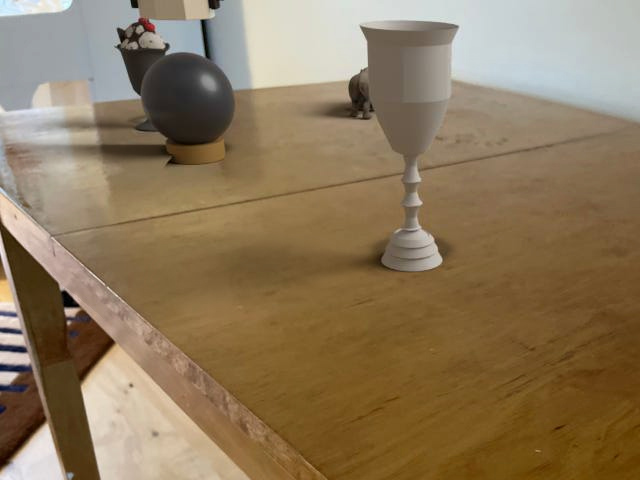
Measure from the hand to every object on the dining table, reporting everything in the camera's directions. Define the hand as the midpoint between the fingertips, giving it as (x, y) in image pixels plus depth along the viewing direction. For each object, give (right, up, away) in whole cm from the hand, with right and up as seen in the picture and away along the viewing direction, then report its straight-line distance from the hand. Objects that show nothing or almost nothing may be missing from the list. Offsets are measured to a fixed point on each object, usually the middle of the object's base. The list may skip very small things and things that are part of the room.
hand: (176, 6), depth 83 cm
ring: (0, -1, +1) cm, 1 cm away
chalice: (+27, -30, -19) cm, 44 cm away
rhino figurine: (+15, 0, +35) cm, 38 cm away
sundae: (-11, -7, +21) cm, 24 cm away
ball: (-1, -14, +8) cm, 16 cm away
